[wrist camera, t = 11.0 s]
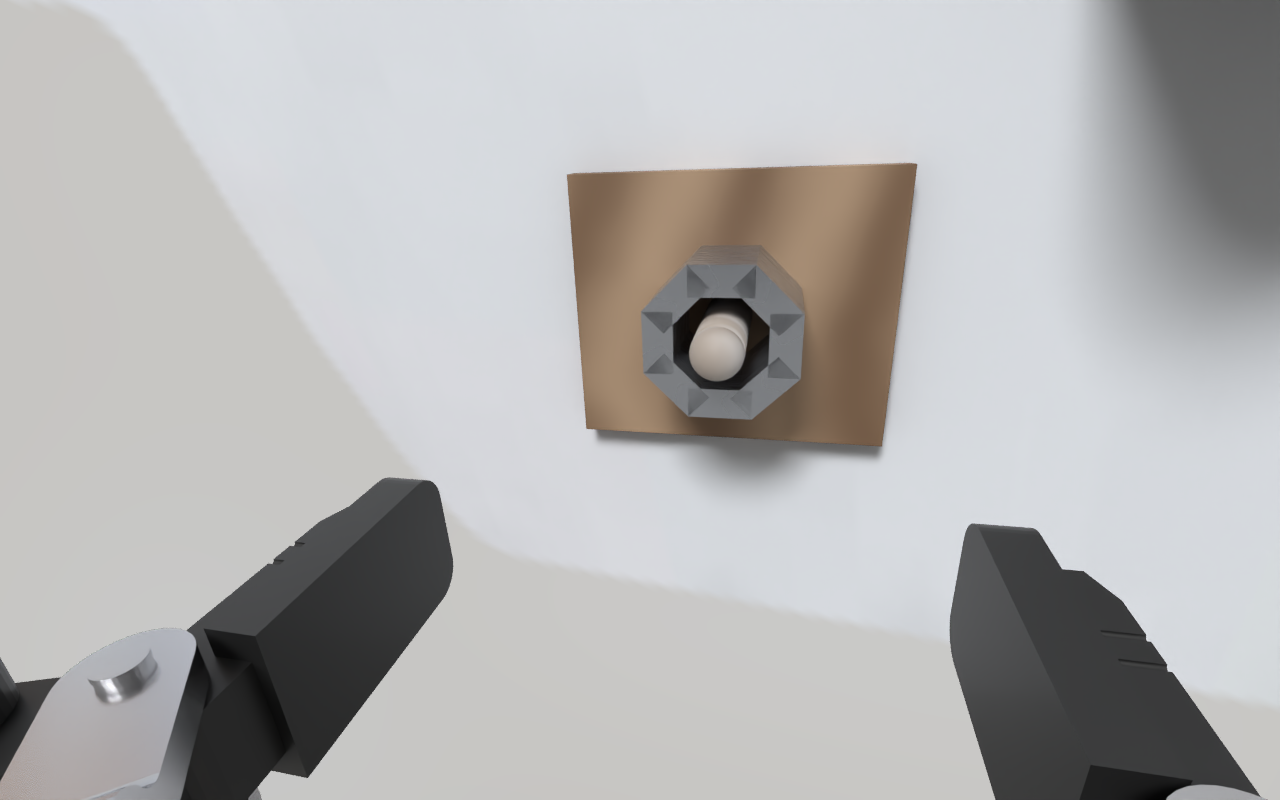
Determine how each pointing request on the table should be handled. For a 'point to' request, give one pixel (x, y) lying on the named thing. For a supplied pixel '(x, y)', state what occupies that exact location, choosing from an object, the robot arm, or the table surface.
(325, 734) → the robot arm
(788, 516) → the table surface
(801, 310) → the ring
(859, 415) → the post stand
